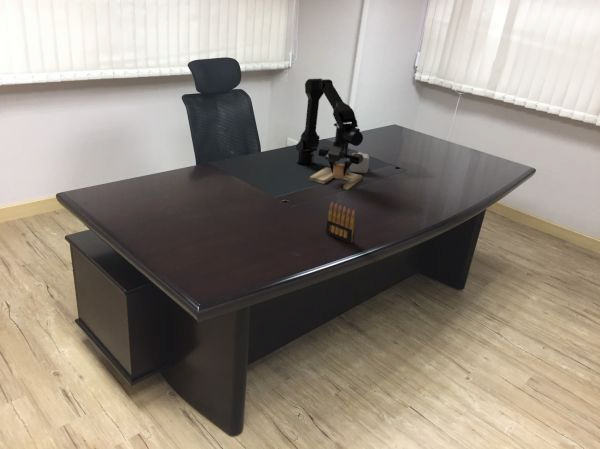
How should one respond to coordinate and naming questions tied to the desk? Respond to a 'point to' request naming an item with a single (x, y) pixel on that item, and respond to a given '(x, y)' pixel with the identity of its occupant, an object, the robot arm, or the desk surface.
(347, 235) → the ammunition clip
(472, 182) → the desk surface
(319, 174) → the pale wood u-shaped block
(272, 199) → the desk surface
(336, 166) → the tan rounded cone
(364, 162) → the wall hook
